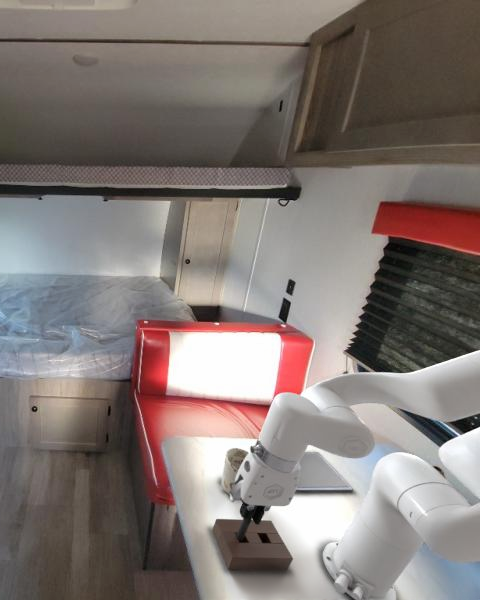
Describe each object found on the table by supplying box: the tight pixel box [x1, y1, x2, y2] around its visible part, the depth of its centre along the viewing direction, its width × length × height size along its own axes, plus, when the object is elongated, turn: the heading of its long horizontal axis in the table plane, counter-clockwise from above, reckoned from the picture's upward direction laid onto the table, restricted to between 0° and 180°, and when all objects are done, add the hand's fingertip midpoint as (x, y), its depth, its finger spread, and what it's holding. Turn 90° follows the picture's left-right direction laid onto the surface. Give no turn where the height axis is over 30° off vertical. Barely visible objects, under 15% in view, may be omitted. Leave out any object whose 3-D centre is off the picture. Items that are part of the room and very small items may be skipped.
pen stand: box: [211, 518, 294, 571], centre depth 74 cm, size 8×13×4 cm, turn 92°
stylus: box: [236, 505, 258, 541], centre depth 72 cm, size 1×1×13 cm
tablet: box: [295, 451, 354, 493], centre depth 97 cm, size 20×13×1 cm, turn 95°
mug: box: [221, 447, 250, 503], centre depth 86 cm, size 8×13×10 cm, turn 152°
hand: (248, 517), depth 71 cm, fingers closed on stylus, 1 cm apart
